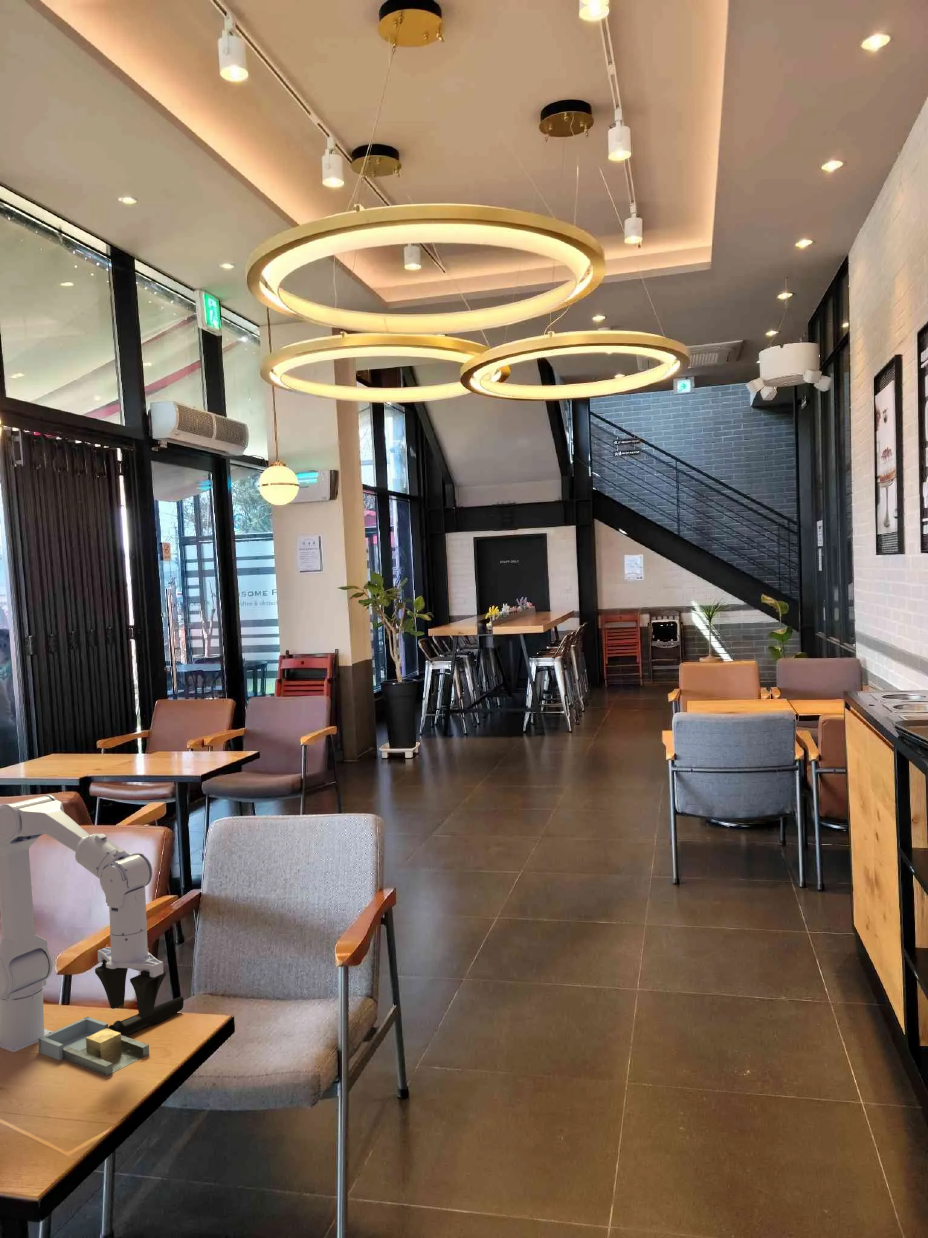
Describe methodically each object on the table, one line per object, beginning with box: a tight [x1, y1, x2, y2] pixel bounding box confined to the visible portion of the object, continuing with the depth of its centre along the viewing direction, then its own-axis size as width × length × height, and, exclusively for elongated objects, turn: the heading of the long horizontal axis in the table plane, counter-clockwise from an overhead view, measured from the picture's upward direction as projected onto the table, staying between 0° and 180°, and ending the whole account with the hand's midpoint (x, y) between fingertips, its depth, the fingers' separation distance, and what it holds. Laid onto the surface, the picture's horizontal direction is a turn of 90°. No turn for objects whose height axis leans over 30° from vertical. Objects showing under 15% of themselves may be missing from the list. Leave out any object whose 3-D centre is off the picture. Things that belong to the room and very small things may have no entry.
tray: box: [37, 1016, 109, 1061], centre depth 158 cm, size 6×10×3 cm, turn 147°
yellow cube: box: [86, 1028, 122, 1061], centre depth 153 cm, size 4×4×4 cm
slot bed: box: [62, 1035, 150, 1077], centre depth 153 cm, size 12×8×2 cm
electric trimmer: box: [108, 996, 184, 1037], centre depth 165 cm, size 4×16×3 cm, turn 143°
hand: (131, 1011), depth 149 cm, fingers open, 7 cm apart
